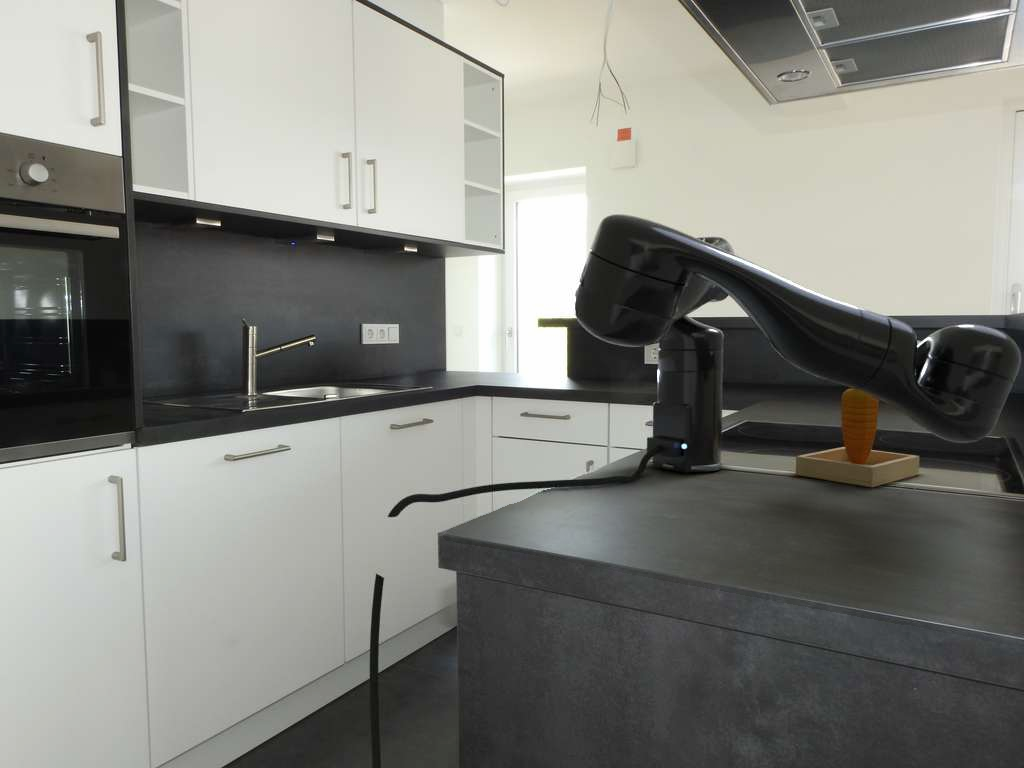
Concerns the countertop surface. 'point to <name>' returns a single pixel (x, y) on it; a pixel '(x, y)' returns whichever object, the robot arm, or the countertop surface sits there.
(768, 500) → the countertop surface
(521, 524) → the countertop surface
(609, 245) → the robot arm
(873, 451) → the tray
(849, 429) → the carrot
